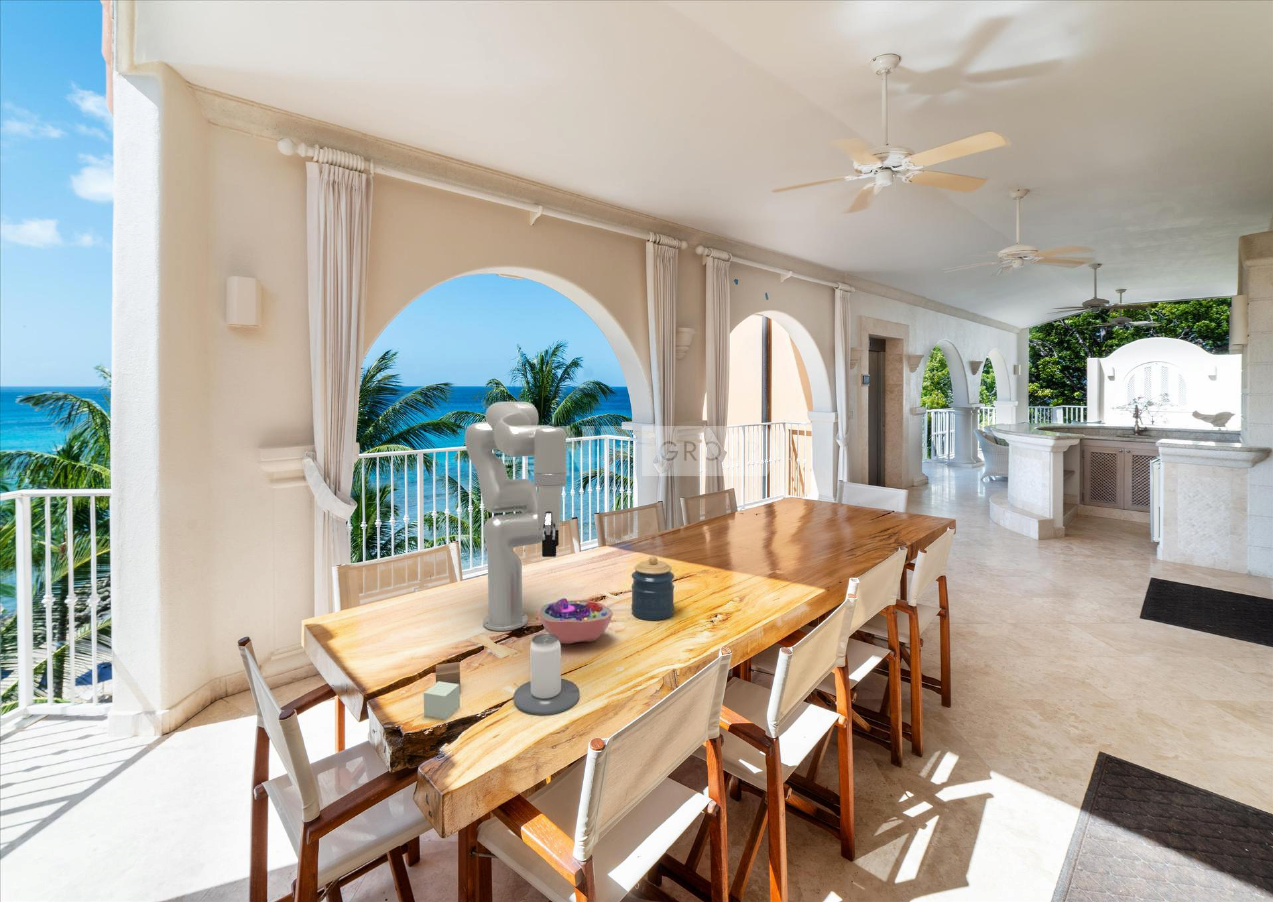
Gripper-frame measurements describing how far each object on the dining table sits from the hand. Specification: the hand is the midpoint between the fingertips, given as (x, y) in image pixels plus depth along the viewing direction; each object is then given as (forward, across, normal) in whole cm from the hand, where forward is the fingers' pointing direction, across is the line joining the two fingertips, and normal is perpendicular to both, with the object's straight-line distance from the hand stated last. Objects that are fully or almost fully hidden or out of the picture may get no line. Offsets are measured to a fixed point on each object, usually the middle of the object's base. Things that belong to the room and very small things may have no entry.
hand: (550, 551), depth 135 cm
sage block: (+28, +19, -21) cm, 40 cm away
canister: (+28, -33, +28) cm, 52 cm away
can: (+28, +15, 0) cm, 31 cm away
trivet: (+28, +15, 0) cm, 32 cm away
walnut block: (+28, +10, -22) cm, 37 cm away
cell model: (+29, -15, +5) cm, 33 cm away
